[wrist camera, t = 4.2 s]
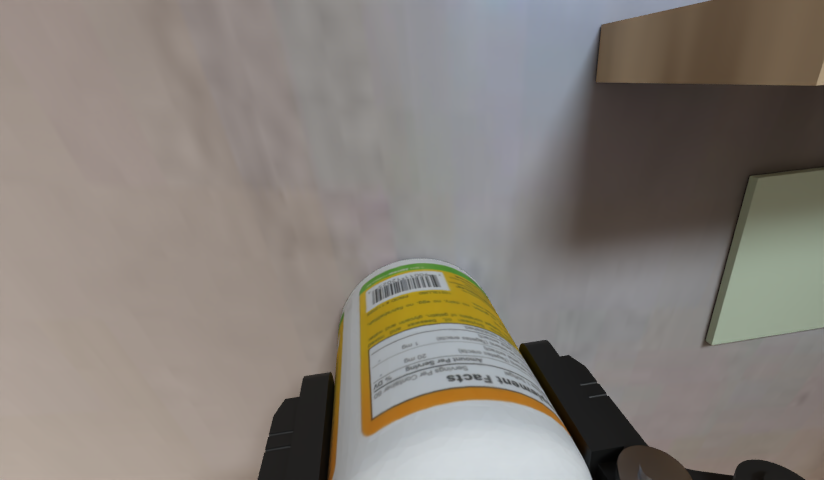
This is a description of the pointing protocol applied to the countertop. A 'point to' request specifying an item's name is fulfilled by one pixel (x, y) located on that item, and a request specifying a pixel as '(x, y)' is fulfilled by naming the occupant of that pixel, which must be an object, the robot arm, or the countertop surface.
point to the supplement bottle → (438, 387)
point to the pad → (774, 260)
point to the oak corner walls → (718, 44)
